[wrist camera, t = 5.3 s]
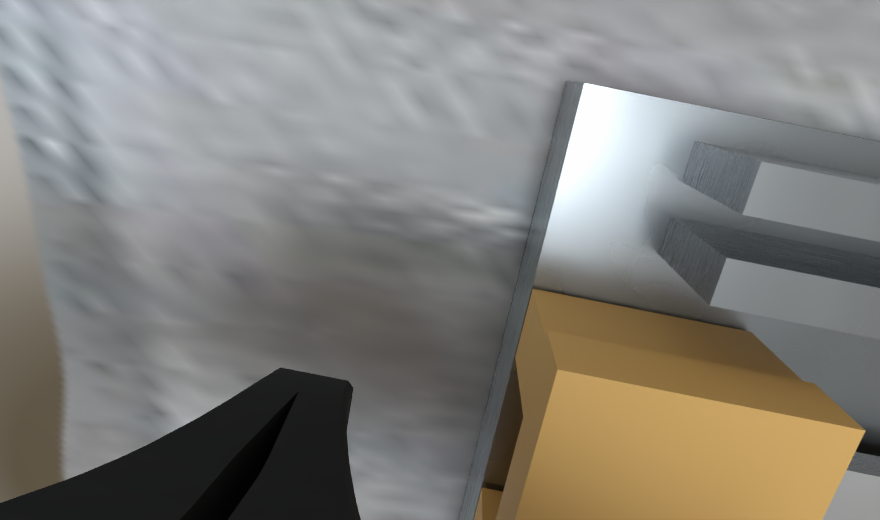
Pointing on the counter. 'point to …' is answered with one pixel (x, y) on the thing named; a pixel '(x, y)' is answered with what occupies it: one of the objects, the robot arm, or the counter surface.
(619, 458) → the clip
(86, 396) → the counter surface
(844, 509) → the strap
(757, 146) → the grey fixture base plate
